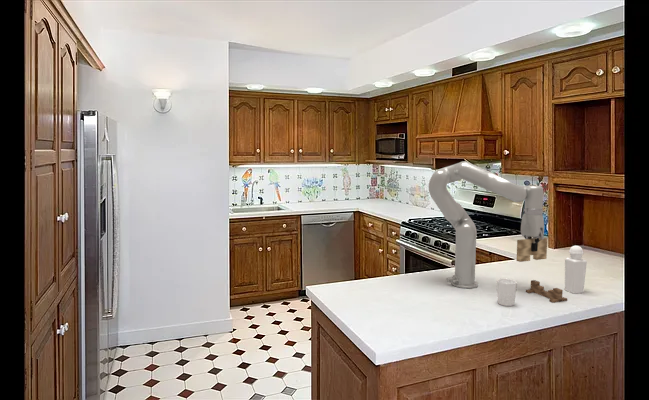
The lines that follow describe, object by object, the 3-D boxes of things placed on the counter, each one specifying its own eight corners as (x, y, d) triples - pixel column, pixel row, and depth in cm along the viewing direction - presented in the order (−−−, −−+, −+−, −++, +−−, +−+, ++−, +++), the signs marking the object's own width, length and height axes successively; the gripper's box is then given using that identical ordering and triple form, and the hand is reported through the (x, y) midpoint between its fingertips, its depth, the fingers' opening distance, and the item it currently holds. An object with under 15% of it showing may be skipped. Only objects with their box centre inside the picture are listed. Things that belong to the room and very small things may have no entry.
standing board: (567, 300, 194) (567, 289, 193) (553, 302, 191) (553, 291, 191) (538, 290, 209) (539, 279, 208) (525, 291, 206) (525, 281, 206)
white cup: (495, 299, 195) (496, 278, 194) (514, 301, 193) (515, 279, 192) (497, 305, 188) (497, 283, 187) (516, 307, 186) (517, 284, 185)
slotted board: (520, 261, 204) (520, 240, 203) (516, 260, 206) (517, 239, 205) (546, 258, 209) (547, 238, 208) (542, 257, 211) (543, 237, 210)
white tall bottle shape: (585, 293, 204) (588, 246, 202) (572, 294, 203) (575, 247, 201) (575, 288, 210) (577, 243, 208) (562, 289, 209) (565, 244, 207)
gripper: (514, 210, 211) (513, 247, 213) (540, 214, 196) (539, 254, 198) (526, 209, 214) (525, 246, 216) (553, 213, 199) (551, 253, 201)
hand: (531, 250), depth 207 cm, fingers closed on slotted board, 2 cm apart
